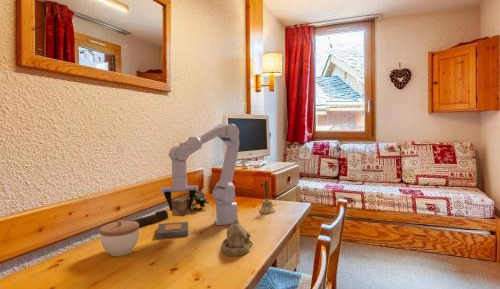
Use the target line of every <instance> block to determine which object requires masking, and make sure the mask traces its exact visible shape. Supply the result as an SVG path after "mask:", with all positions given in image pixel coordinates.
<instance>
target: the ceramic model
mask: <svg viewBox="0 0 500 289" xmlns="http://www.w3.org/2000/svg"><path fill="white" fill-rule="evenodd" d="M225 234H226V238H225V239H224V240H223V241H222V243H221V249H222V252H223V253H224V254H225V255H226V256H230V257H231V256H236V257H237V256H242V255H245V254H247V253H249V252H250V248H251V247H252V246H253V241H252V240H250V238H251V233H250V232H248V231H247V230H246V229H245V228H244V227H243V225H242V224H240V222H239V220H234V222H233V223H232V224H229V227H228V228H227V230H226V233H225Z"/></svg>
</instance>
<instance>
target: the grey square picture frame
mask: <svg viewBox="0 0 500 289" xmlns="http://www.w3.org/2000/svg"><path fill="white" fill-rule="evenodd" d="M155 234H156V240H158V239H166V238H168V239H169V238H176V237H178V238H179V237H188V236H189V221H179V222H168V223H167V222H166V223H159V224H158V228H157V230H156V233H155Z"/></svg>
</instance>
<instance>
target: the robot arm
mask: <svg viewBox="0 0 500 289" xmlns="http://www.w3.org/2000/svg"><path fill="white" fill-rule="evenodd" d="M215 138H219V139H220V140H221V141H222V142H224V145H225V146H226V149H225V154H224V159H223V164H222V169H221V174H220V177H219V178H220V179H219V181H217V183H215V187H214V189H213V190H212V198H213V199H214V201H215V202H214V203H215V214H216V215H215V218H214V222H215V226H226V225H227V226H228V225H231V224H232V223H233V222H234V220H238V204H237V202H236V201H235V198H236V192H235V190H236V186H235V185H234V183H233V180H234V174H235V170H236V164H237V159H238V155H239V154H238V153H239V148H240V129H239V127H238V126H237V125H236V124H234V123H228V124H227V123H226V124H222V123H221V124H218V125H216V126H214V127H212V128H211V129H210V130H207V131H206V132H205V133H203V134H200V136H198V137H197V136H190V137H188V139H187V140H185V141H183V142H179V143H178V144H179V145H174V146H173V147H171V149H170V150H169V152H168V157H169V159H170V160H171V181H172V184H171V185H172V186H166V187H165V186H164V187H160V194H163V195H164V198H165V200H166V202H167V204H168V207H169V211H170V212H172V193H182V192H185V193H186V192H188V193H189V195H188V196H189V197H188V199H189V211H190V210H192V201H193V198H194V196H195V193H197V192H200V191H199V184H198V185H188V175H187V172H188V170H187V167H188V166H187V160H188V158H189V157H190V156H191V155H192V154H194V153H196V152H197V151H199V150H201V149H202V146H203V145H204V144H206V143H208V142H210V141H211V140H213V139H215ZM193 202H194V201H193ZM238 221H239V220H238Z"/></svg>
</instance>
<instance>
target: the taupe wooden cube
mask: <svg viewBox="0 0 500 289" xmlns="http://www.w3.org/2000/svg"><path fill="white" fill-rule="evenodd" d="M171 202H172V211H171V216H172V217H180V218H181V217H185V216H188V215H189V214H190V212H191V211H190V210H189V197H186V198H184V197H183V198H182V197H177V198H174V199H173V200H172V199H171Z"/></svg>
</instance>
